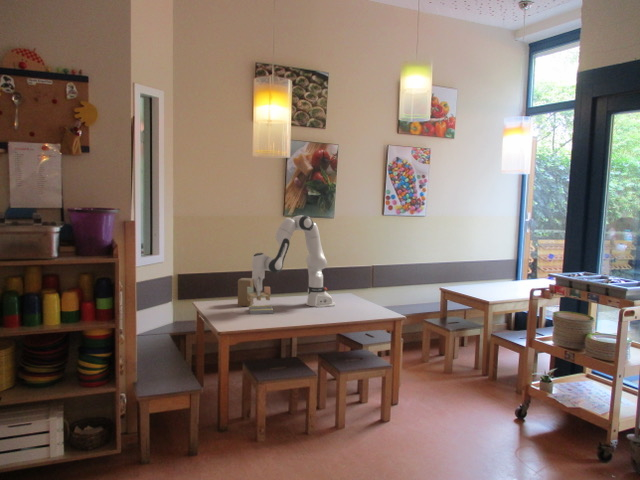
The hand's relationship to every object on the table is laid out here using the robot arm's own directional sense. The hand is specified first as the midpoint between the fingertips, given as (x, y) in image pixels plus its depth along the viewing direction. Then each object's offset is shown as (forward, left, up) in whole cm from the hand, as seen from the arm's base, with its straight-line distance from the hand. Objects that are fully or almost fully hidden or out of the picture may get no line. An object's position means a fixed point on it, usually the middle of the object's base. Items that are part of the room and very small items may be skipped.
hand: (258, 295), depth 349 cm
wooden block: (+7, -23, -12) cm, 27 cm away
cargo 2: (-6, 0, +1) cm, 7 cm away
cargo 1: (+6, 0, +2) cm, 6 cm away
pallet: (0, 0, -3) cm, 3 cm away
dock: (-2, 0, -12) cm, 12 cm away
